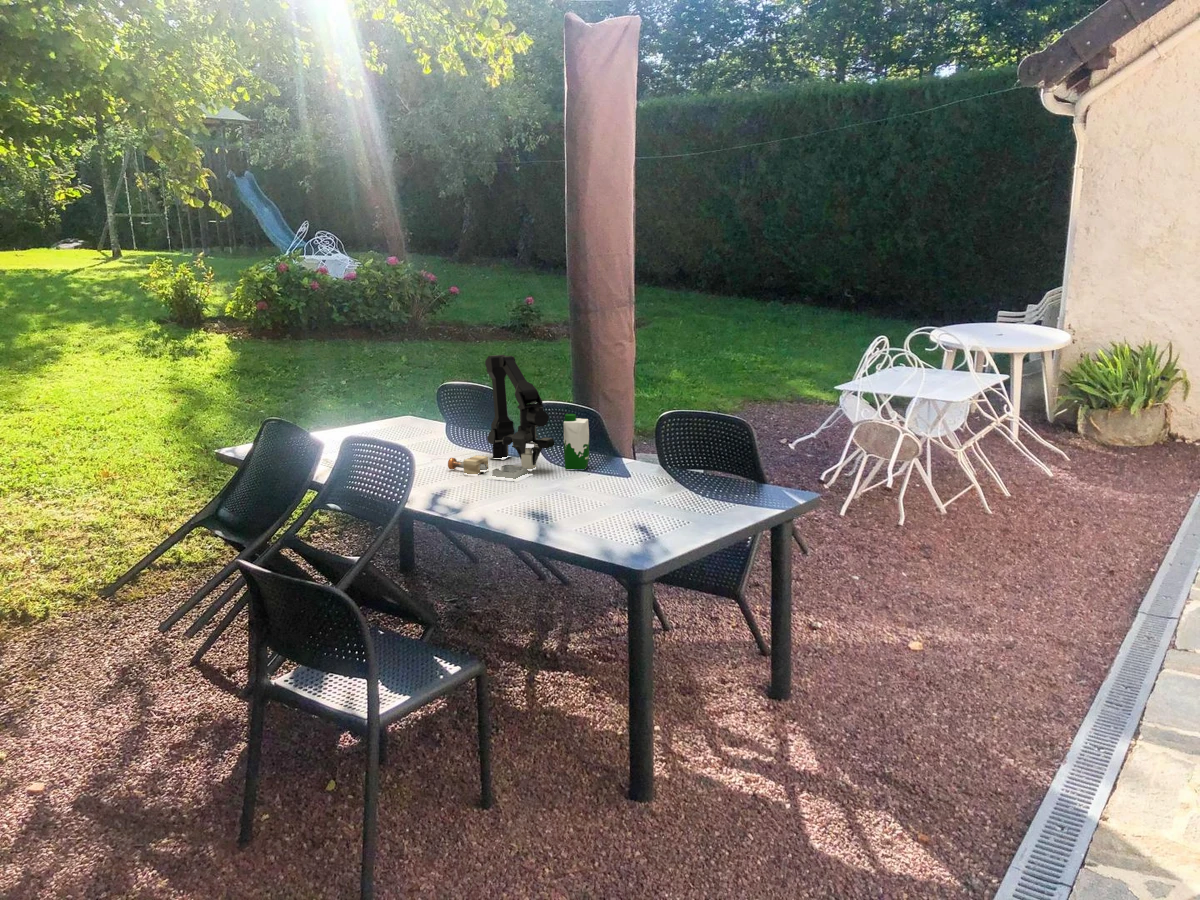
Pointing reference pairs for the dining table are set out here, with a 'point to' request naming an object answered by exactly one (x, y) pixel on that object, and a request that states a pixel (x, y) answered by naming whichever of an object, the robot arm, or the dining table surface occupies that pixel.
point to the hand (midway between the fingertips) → (528, 464)
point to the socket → (510, 471)
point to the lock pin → (461, 464)
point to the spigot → (527, 459)
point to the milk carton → (576, 442)
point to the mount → (474, 464)
